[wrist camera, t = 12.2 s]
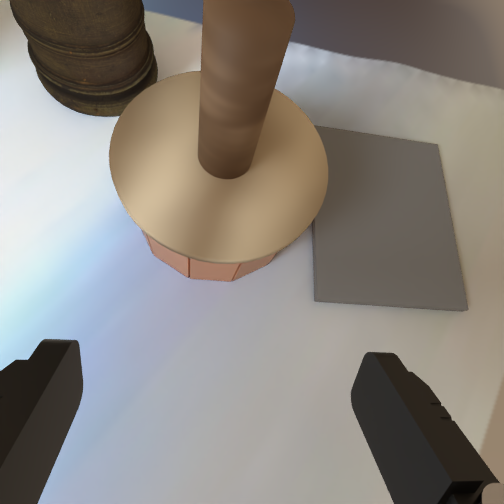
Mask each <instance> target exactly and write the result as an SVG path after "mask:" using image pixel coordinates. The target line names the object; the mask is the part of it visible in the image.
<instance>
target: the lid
mask: <svg viewBox="0 0 504 504" xmlns="http://www.w3.org/2000/svg"><path fill="white" fill-rule="evenodd" d="M203 2H204V3H203V27H202V53H201V71H193V72H187V73H182V74H178V75H175V76H171V77H168V78H166V79H163V80H161V81H159V82H157V83H155V84H153V85H151V86H150V87H148V88H147V89H145V90H144V91H142V92H141V93H140V94H139V95H137V96H136V97H135V98H134V99H133V100H132V101H131V102H130V103H129V104H128V106H127V107H126V108H125V110H124V111H123V113H122V114H121V115H120V117H119V119H118V121H117V123H116V125H115V127H114V131H113V134H112V137H111V142H110V150H109V163H110V170H111V175H112V180H113V183H114V185H115V188H116V191H117V193H118V196H119V198H120V200H121V202H122V204H123V206H124V208H125V209H126V211H127V213H128V214H129V215H130V217H131V218H132V219H133V221H134V222H135V223H136V224H137V225H138V226H139V227H140V228H141V229H142V230H143V231H144V232H145V233H146V234H147V235H148V236H149V237H151V238H152V239H153V240H155V241H156V242H157V243H158V244H160V245H162V246H164V247H165V248H167V249H169V250H171V251H172V252H175V253H177V254H180V255H182V256H185V257H187V258H191V259H194V260H198V261H202V262H209V263H216V264H236V263H246V262H250V261H255V260H259V259H262V258H265V257H267V256H270V255H272V254H275V253H276V252H278V251H280V250H282V249H284V248H285V247H287V246H288V245H289V244H291V243H292V242H293V241H295V240H296V239H297V238H298V237H299V236H300V235H301V234H302V233H303V232H304V231H305V230H306V228H307V227H308V226H309V225H310V224H311V222H312V221H313V219H314V218H315V217H316V215H317V214H318V212H319V210H320V208H321V206H322V204H323V201H324V198H325V195H326V191H327V185H328V163H327V156H326V153H325V149H324V146H323V143H322V141H321V138H320V136H319V134H318V132H317V130H316V129H315V127H314V125H313V124H312V122H311V121H310V120H309V118H308V117H307V115H306V114H305V113H304V112H303V111H302V110H301V109H300V108H299V107H298V106H297V105H296V104H295V103H294V102H293V101H292V100H290V99H289V98H288V97H287V96H285V95H284V94H282V93H281V92H280V91H278V90H276V89H274V88H275V85H276V82H277V78H278V75H279V72H280V69H281V65H282V62H283V59H284V56H285V52H286V49H287V46H288V43H289V39H290V36H291V33H292V30H293V26H294V23H295V13H294V9H293V7H292V5H291V3H290V1H289V0H203Z"/></svg>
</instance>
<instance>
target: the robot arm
mask: <svg viewBox="0 0 504 504" xmlns="http://www.w3.org/2000/svg"><path fill="white" fill-rule="evenodd" d="M82 392H83V376H82V366H81V357H80V347H79V343H78V341H77V340H60V339H44V340H42V341H41V342H40V344H39V345H38V346H37V348H36V349H35V351H34V352H33V354H32V355H31V357H30V358H29V359H28V360H15V361H14V362H12V363H11V364H10V365H8V366H7V367H5V368H4V369H3V370H1V371H0V504H37V503H38V501H39V499H40V496H41V494H42V492H43V489H44V487H45V485H46V482H47V480H48V478H49V475H50V473H51V471H52V468H53V466H54V464H55V461H56V459H57V457H58V454H59V452H60V450H61V447H62V445H63V443H64V440H65V438H66V436H67V433H68V431H69V429H70V426H71V424H72V422H73V419H74V417H75V415H76V412H77V410H78V408H79V405H80V401H81V397H82ZM351 403H352V408H353V411H354V413H355V415H356V418H357V420H358V422H359V425H360V427H361V429H362V431H363V434H364V436H365V438H366V441H367V443H368V445H369V447H370V450H371V452H372V454H373V457H374V459H375V461H376V463H377V466H378V468H379V470H380V473H381V475H382V477H383V479H384V482H385V484H386V486H387V489H388V491H389V493H390V495H391V498H392V500H393V502H394V504H504V484H501V483H500V482H499V481H498V480H497V479H496V477H495V476H494V475H493V473H492V472H491V471H490V469H489V468H488V466H487V465H486V464H485V462H484V461H483V460H482V458H481V457H480V455H479V454H478V453H477V451H476V450H475V449H474V447H473V446H472V445H471V443H470V442H469V440H468V439H467V438H466V436H465V435H464V434H463V432H462V431H461V429H460V428H459V427H458V425H457V424H456V423H455V421H452V419H451V416H450V414H449V413H448V412H447V410H446V409H445V408H444V406H441V402H440V401H439V399H438V398H437V397H436V395H435V394H434V393H433V391H432V390H431V388H430V387H429V386H428V385H427V384H426V383H425V382H423V381H422V380H421V379H420V378H419V377H418V376H416V375H415V374H414V373H413V372H408V370H407V369H406V368H405V366H404V365H403V363H402V362H401V360H400V359H399V358H398V356H397V355H396V354H394V353H380V352H368V353H366V354H365V356H364V358H363V360H362V363H361V366H360V368H359V371H358V374H357V376H356V379H355V381H354V384H353V387H352V390H351Z"/></svg>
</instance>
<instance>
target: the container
mask: <svg viewBox="0 0 504 504" xmlns="http://www.w3.org/2000/svg"><path fill="white" fill-rule="evenodd" d="M10 6H11V9H12V13H13V15H14V18H15V20H16V21H17V23H18V25H19V26H20V27H21V29H22V30H23V32H24V34H25V36H26V38H27V39H28V52H29V55H30V58H31V60H32V62H33V64H34V65H35V67H36V72H37V74H38V77H39V79H40V81H41V83H42V84H43V86H44V87H45V89H46V90H47V91H48V92H49V93H50V94H51V95H52V96H53V97H54V98H55V99H56V100H57V101H58V102H60V103H61V104H63V105H64V106H66V107H68V108H70V109H72V110H74V111H77V112H79V113H83V114H87V115H93V116H104V117H107V116H119V115H121V114H122V113H123V111H124V110H125V108H126V107H127V106H128V104H129V103H130V102H131V101H132V100H133V99H134V98H135V97H136V96H137V95H139V94H140V93H141V92H142V91H144V90H145V89H147V88H148V87H150V86H151V85H153V84H155V83H156V81H157V74H158V69H157V62H156V59H155V56H154V50H153V44H152V41H151V38H150V36H149V34H148V32H147V31H146V29H145V23H144V6H143V3H142V0H10Z"/></svg>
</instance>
